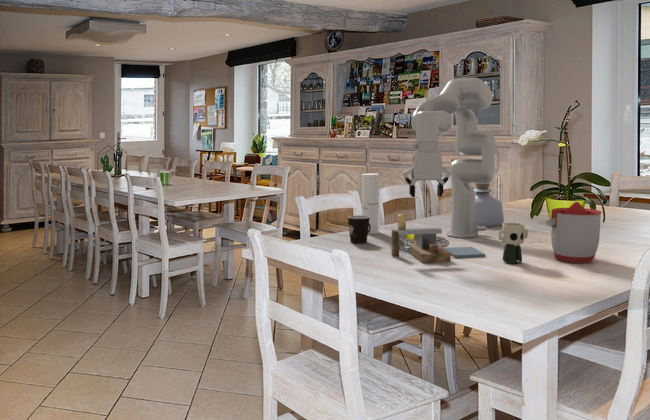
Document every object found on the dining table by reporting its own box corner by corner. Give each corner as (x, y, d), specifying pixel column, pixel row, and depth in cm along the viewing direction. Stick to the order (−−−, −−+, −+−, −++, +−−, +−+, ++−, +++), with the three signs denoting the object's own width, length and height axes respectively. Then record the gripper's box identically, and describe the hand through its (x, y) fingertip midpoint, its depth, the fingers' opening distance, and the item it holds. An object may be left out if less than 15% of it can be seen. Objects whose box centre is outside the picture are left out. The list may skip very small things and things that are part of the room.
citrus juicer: (539, 254, 217) (541, 198, 214) (590, 255, 215) (593, 198, 212) (550, 265, 201) (553, 204, 199) (605, 265, 200) (609, 204, 197)
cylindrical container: (377, 234, 260) (377, 174, 256) (360, 233, 261) (360, 174, 258) (379, 231, 267) (379, 173, 263) (363, 230, 268) (363, 173, 264)
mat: (471, 249, 227) (471, 246, 227) (485, 256, 214) (485, 254, 214) (442, 250, 225) (442, 247, 225) (454, 258, 213) (455, 255, 213)
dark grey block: (429, 244, 222) (429, 227, 221) (436, 248, 214) (436, 231, 213) (415, 244, 221) (415, 228, 220) (422, 249, 213) (422, 232, 212)
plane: (429, 247, 230) (429, 223, 229) (450, 262, 207) (451, 235, 206) (384, 249, 228) (384, 225, 227) (401, 263, 205) (401, 237, 203)
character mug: (503, 266, 201) (504, 226, 199) (492, 261, 207) (493, 223, 206) (532, 263, 204) (534, 224, 202) (520, 259, 210) (521, 221, 209)
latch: (439, 232, 210) (439, 213, 209) (441, 233, 207) (442, 214, 206) (397, 233, 208) (397, 214, 207) (398, 234, 205) (399, 215, 204)
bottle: (503, 221, 291) (504, 181, 288) (505, 228, 272) (506, 185, 269) (459, 219, 295) (460, 180, 293) (458, 226, 276) (459, 184, 274)
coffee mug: (346, 240, 246) (346, 215, 245) (367, 239, 247) (367, 215, 246) (350, 246, 235) (350, 220, 234) (372, 245, 236) (372, 219, 234)
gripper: (405, 147, 208) (404, 198, 210) (454, 147, 210) (453, 197, 212) (400, 147, 215) (399, 195, 217) (447, 146, 217) (446, 194, 220)
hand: (426, 196), depth 215 cm, fingers open, 9 cm apart
